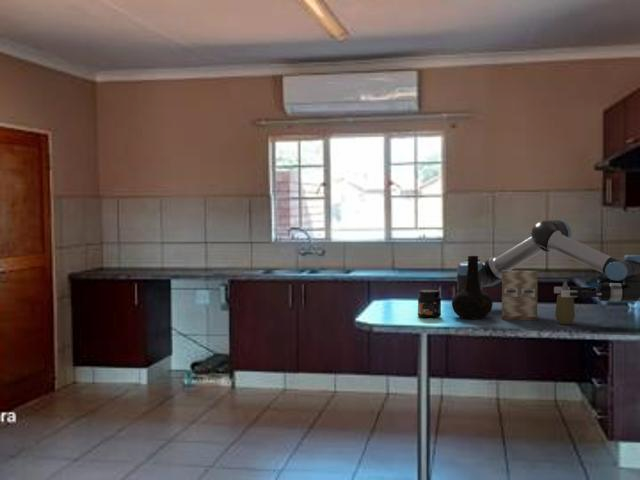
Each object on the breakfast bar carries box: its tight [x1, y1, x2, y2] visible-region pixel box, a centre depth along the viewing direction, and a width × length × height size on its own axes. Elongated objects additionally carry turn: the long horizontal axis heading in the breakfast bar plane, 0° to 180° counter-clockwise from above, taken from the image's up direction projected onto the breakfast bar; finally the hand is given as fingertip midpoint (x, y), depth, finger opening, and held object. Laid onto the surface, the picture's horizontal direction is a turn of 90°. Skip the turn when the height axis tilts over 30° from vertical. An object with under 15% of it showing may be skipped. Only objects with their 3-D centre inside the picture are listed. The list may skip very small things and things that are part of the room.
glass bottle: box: [451, 255, 494, 320], centre depth 339 cm, size 18×18×28 cm
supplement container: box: [417, 289, 442, 319], centre depth 342 cm, size 10×10×12 cm
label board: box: [501, 270, 538, 321], centre depth 334 cm, size 15×6×22 cm, turn 77°
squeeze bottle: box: [554, 280, 576, 325], centre depth 321 cm, size 8×8×18 cm
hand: (557, 291), depth 321 cm, fingers open, 13 cm apart
